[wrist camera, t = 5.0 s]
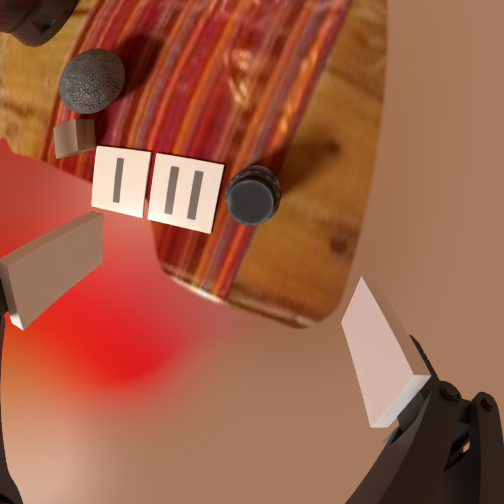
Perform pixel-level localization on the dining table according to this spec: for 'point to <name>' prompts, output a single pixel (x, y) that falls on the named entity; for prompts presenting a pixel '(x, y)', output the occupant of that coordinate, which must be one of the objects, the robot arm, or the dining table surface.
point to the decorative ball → (92, 81)
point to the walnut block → (74, 137)
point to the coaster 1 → (120, 180)
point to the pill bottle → (253, 195)
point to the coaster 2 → (185, 192)
